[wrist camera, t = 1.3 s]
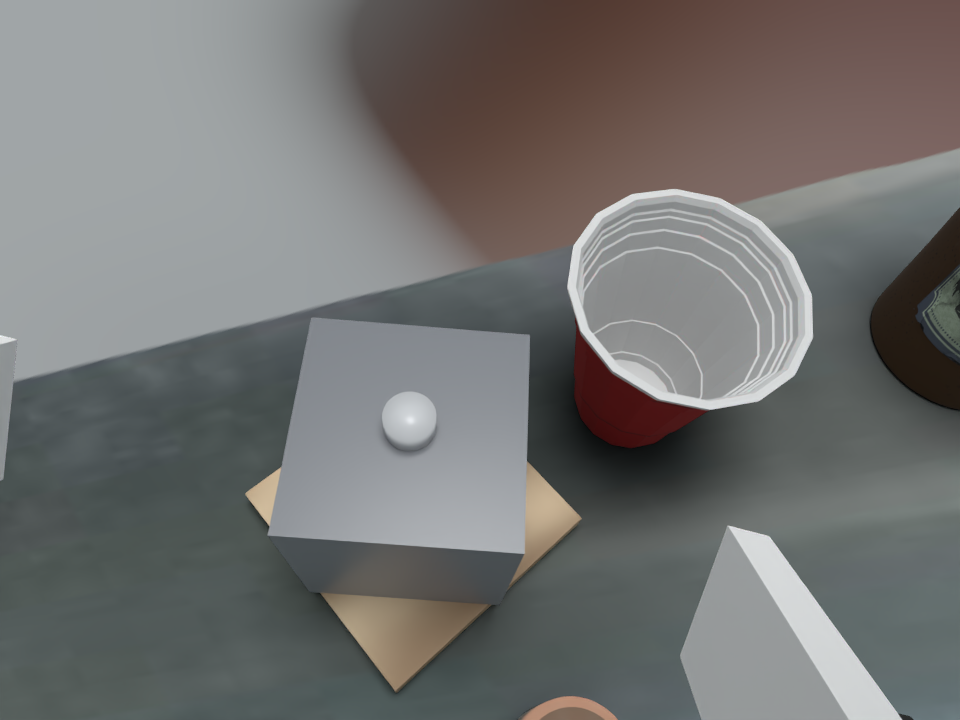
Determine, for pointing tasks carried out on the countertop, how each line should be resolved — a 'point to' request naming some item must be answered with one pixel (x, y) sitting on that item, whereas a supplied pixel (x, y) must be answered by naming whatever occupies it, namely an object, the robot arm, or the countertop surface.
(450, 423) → the grey knobbed cube
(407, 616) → the oak board
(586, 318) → the plastic cup
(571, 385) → the countertop surface
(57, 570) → the countertop surface
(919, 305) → the brown glass bottle shape
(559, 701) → the terracotta pot
